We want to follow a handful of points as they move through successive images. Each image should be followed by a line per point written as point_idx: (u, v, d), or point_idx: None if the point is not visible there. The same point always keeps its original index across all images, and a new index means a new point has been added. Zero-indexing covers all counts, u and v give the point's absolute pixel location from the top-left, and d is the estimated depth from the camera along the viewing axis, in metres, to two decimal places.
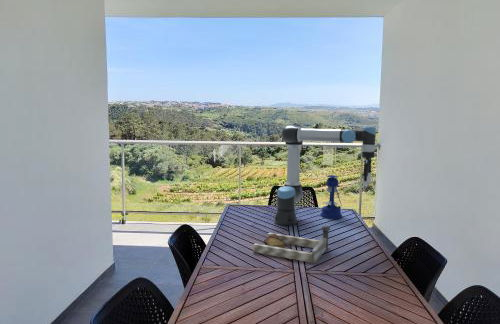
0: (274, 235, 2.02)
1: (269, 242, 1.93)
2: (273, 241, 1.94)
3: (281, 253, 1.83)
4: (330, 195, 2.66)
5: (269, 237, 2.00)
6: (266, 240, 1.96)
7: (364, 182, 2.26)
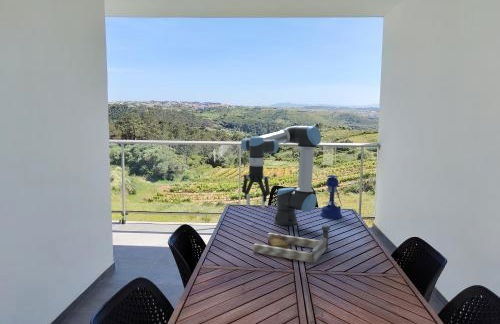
0: (278, 235, 2.02)
1: (272, 242, 1.93)
2: (276, 241, 1.94)
3: (281, 253, 1.83)
4: (330, 195, 2.66)
5: (273, 237, 2.00)
6: (270, 240, 1.96)
7: None
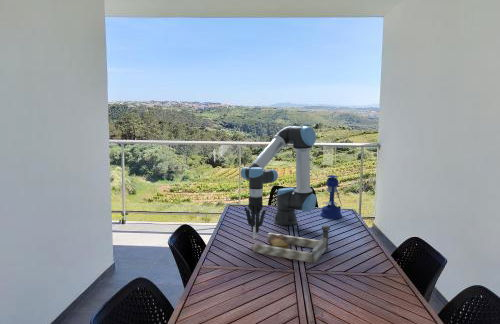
0: (280, 236, 2.01)
1: (273, 242, 1.93)
2: (277, 241, 1.94)
3: (281, 253, 1.83)
4: (330, 195, 2.66)
5: (275, 237, 2.00)
6: (271, 240, 1.96)
7: None
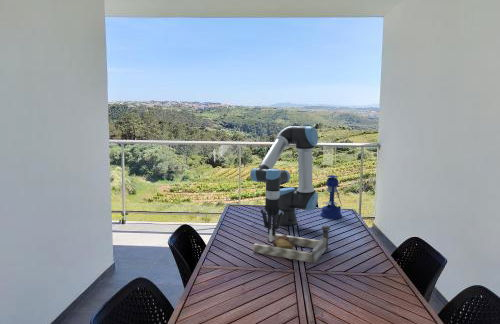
0: (284, 236, 2.00)
1: (277, 243, 1.92)
2: (281, 242, 1.93)
3: (281, 253, 1.83)
4: (330, 195, 2.66)
5: (279, 238, 1.99)
6: (275, 241, 1.95)
7: None
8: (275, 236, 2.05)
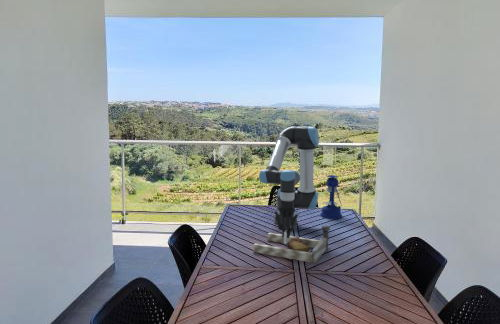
0: (297, 238, 1.97)
1: (293, 245, 1.89)
2: (296, 244, 1.90)
3: (281, 253, 1.83)
4: (330, 195, 2.66)
5: (292, 240, 1.96)
6: (289, 243, 1.92)
7: None
8: (275, 236, 2.05)
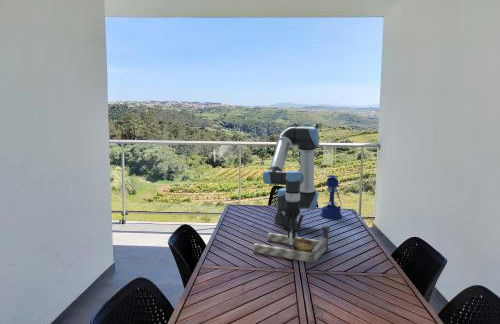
0: (302, 239, 1.96)
1: (299, 246, 1.87)
2: (302, 245, 1.88)
3: (281, 253, 1.83)
4: (330, 195, 2.66)
5: (297, 241, 1.94)
6: (295, 244, 1.90)
7: None
8: (275, 236, 2.05)
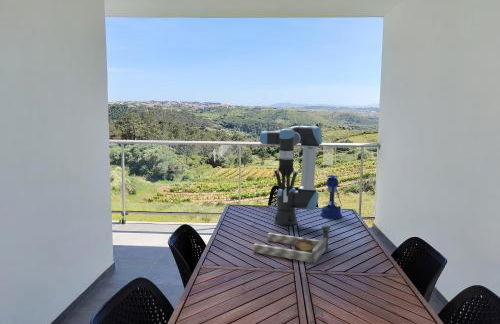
0: (304, 239, 1.96)
1: (300, 247, 1.87)
2: (304, 245, 1.88)
3: (281, 253, 1.83)
4: (330, 195, 2.66)
5: (299, 241, 1.94)
6: (297, 245, 1.90)
7: None
8: (275, 236, 2.05)
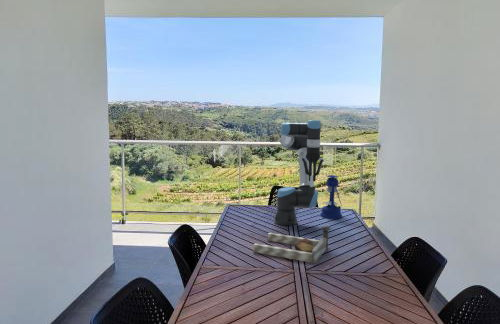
0: (305, 239, 1.95)
1: (301, 247, 1.87)
2: (304, 246, 1.88)
3: (281, 253, 1.83)
4: (330, 195, 2.66)
5: (300, 242, 1.94)
6: (297, 245, 1.90)
7: None
8: (275, 236, 2.05)
